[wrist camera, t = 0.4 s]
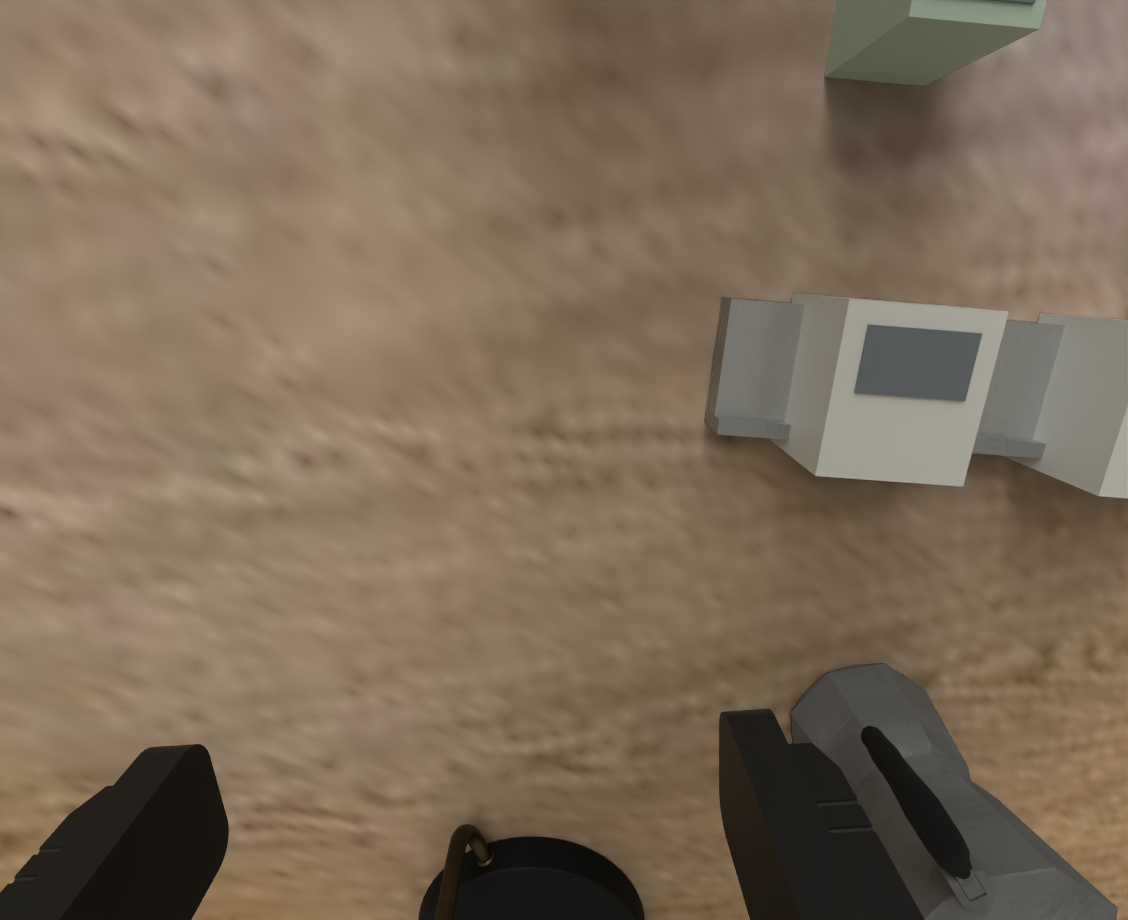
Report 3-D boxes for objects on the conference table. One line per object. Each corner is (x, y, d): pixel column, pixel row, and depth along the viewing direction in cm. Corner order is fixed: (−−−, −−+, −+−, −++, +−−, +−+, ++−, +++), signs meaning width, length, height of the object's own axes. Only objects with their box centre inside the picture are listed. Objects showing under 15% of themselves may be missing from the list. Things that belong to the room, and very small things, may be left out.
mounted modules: (793, 293, 35) (851, 298, 28) (1165, 323, 35) (1312, 335, 29) (768, 438, 37) (816, 477, 30) (1119, 464, 38) (1245, 507, 31)
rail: (721, 297, 35) (736, 299, 32) (1229, 337, 36) (1288, 343, 33) (704, 421, 37) (717, 434, 34) (1186, 457, 38) (1239, 472, 35)
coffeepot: (964, 759, 43) (1235, 1085, 26) (836, 822, 45) (1013, 1171, 27) (864, 582, 40) (1103, 825, 22) (728, 657, 41) (853, 940, 24)
